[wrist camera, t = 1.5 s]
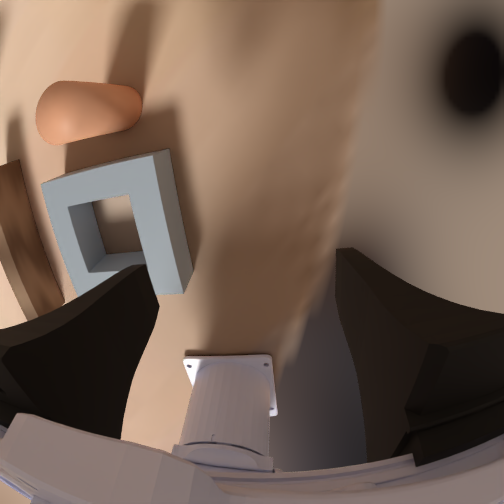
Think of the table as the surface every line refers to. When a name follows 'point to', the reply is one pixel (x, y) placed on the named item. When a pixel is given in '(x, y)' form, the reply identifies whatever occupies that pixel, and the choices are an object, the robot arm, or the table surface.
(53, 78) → the table surface
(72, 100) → the dowel
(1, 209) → the backstop wall
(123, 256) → the block
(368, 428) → the robot arm
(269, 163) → the table surface
